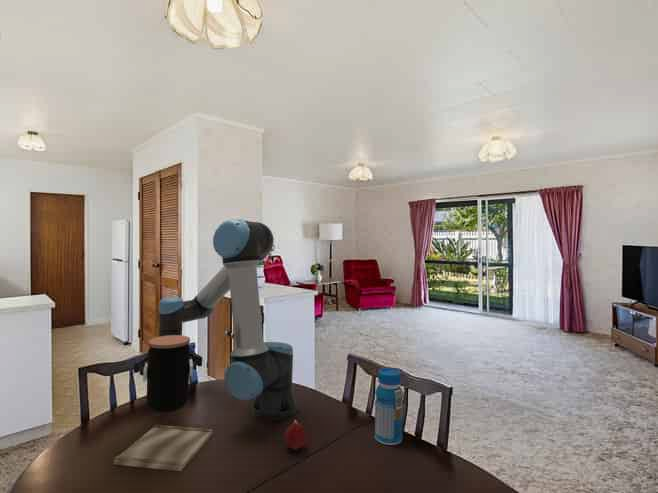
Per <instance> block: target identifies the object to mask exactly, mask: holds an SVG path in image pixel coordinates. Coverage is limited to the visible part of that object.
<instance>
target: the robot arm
mask: <svg viewBox="0 0 658 493" xmlns="http://www.w3.org/2000/svg"><path fill="white" fill-rule="evenodd" d="M274 240H275V239H274V235H273V232H272V230H271V229H270V228H269V226H268V225H266V224H264V223H262V222H259V221H258V222H257V221H251V220H250V221H249V220H243V219H228V220H224V221H223V222H222V223H221V224H219V226H218V227H217V228H216V230H215V231H214V235H213V237H212V245H213V249H214V251H215V252H216V253H217V255H218V256H220V257H221V260H222V265H223V267H222V268H221V269H220V270H219V271H218V272H217V273H216V274H215V275H214V276H213V277H212V278H211V280H210V281H209V282H208V283H207V284H206V285H204V287H203V288H202V289H201V290H200V292H198V294H197V295H196V296H195V297H193V299H191V300H184V299H183V298H182V297H178V296H177V297H176V296H170V297H169V296H168V297H163V298H161V299H160V301H159V306H158V334H157V335H158V336H157V337H161V336H169V335H181V336H183V324H184V323H187V322H193V321H197V320H203V319H205V318H207V317H210V316H212V314H213V313H214V311H215V306H216V305H217V304H218V303H219V302H220V301H221V299H223V297H225V296H226V294H228V292H230V293H229V294H230V304H231V305H230V306H231V314H232V316H231V317H232V326H233V327H232V328H233V336H234V338H233V339H234V348H233V350H232V351H231V352H230V364H229V365H228V366H227V367H226V369H225V372H224V374H223V376H224V383H225V387H226V389H227V390H228V392H229V393H230V394H232V396H234V398H237V399H239V400H244V401H246V400H248V401H249V400H250V399H253V402H252V405H251V413H252V415H253V416H254V417H255V418H257V419H259V420H262V421H269V422H272V421H273V422H274V421H275V422H276V421H283V420H286V419H288V418H289V419H290V418H292V417H293V416H294V415H295V414H296V413H297V409H298V407H297V403H298V402H297V400H296V396H295V393H294V391H293V364H294V361H293V360H294V350H293V346H292V345H291V344H290V343H286V342H279V341H264V337H263V327H262V326H263V325H262V324H263V323H262V313H261V312H262V311H261V303H260V302H261V301H260V293H259V291H260V290H259V282H258V272H257V271H258V270H257V267H258V266H259V264H261V263H262V262H263V261H264V260H265V258H266V257H267V256H268V255H269V254H270V252H271V251H272V249H273V247H274ZM147 366H148V352H146V353H145V354H144V356H142V357H141V358H140V359H138V360H136V361H135V362H134V363H133V374H137V373H139V375H140V376H142V379H143V380H142V382H147V370H148V367H147ZM202 366H203V357H202V356H201V355H199V354H198V353H196V352H194V349H190V364H189V377H193V376H194V374H193V373H194V370H197V369H198V368H197V367H202Z"/></svg>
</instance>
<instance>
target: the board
mask: <svg viewBox="0 0 658 493" xmlns="http://www.w3.org/2000/svg"><path fill="white" fill-rule="evenodd" d="M213 431H214V430H213V429H209V428H199V427H187V426H177V425H175V426H174V425H167V424H166V425H165V424H155V425H153V427H152V428H151V429H150V430H148V431H147V432H146V433H145V434H143V436H140V438H139V439H137V440H136V441H135V442H133V444H132V445H130V446H129V447H128V448H126V449H125V450H124V451H122V453H121V454H119V455H116V456H115V457H114V460H113V465H115V466H116V465H117V466H126V467H136V468H144V469H146V468H147V469H153V470H154V469H155V470H163V471H164V470H166V471H176V472H182V471H183V469H184V468H186V466H187V465H188V464H189V462H191V460H192V459H193V458H194V457H195V456H196V454H197V453H198V452H199V451H200V450H201V448H203V446H205V444H206V442H207V441H208V440H209V439H210V438H211V437H212V436H213Z"/></svg>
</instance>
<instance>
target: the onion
mask: <svg viewBox="0 0 658 493" xmlns="http://www.w3.org/2000/svg"><path fill="white" fill-rule="evenodd" d="M284 438H285V442H286V444H287V445H288V446H289V447H290V448H291V449H292V450H294V451H297V450H299V449H300V448H301V447H303V446H304V445H305V442H306V440H307V431H306V429H305V428H304V426H303V425H302V424H300V423H299V422H298V420H295V419H294V421H293V423H292V424H291V425H289V427H288V428H286V432H285V436H284Z"/></svg>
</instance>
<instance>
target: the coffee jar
mask: <svg viewBox="0 0 658 493" xmlns="http://www.w3.org/2000/svg"><path fill="white" fill-rule="evenodd" d="M190 342H191V338H190V337H189V336H187V335H182V336H181V335H169V336H161V337H158V336H156V337H154V338H151V339H149V340H148V341H147V344H148V347H149V349H148V351H147V353H148V366H147V367H148V370H147V381H146V407H148V409H149V410H150V411H152V412H153V413H159V414H160V413H161V414H162V413H171V412H175V411H177V410H181V409H182V408H183V407H185V405H187V403H188V401H189V399H190V397H189V396H190V394H189V393H190V392H189V391H190V386H189V385H190V374H189V364H190V350H191V347H190V345H189V344H190Z"/></svg>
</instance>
